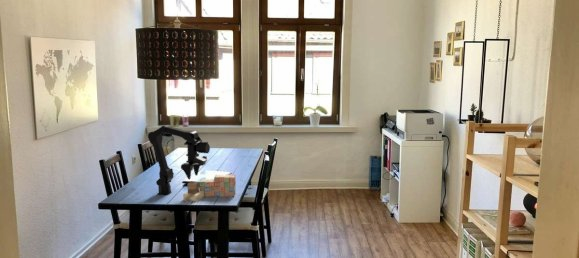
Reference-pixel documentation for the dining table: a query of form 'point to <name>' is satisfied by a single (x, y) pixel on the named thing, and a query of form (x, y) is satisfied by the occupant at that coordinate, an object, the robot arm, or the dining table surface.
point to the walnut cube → (193, 187)
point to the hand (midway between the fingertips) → (192, 177)
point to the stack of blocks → (218, 186)
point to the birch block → (193, 196)
